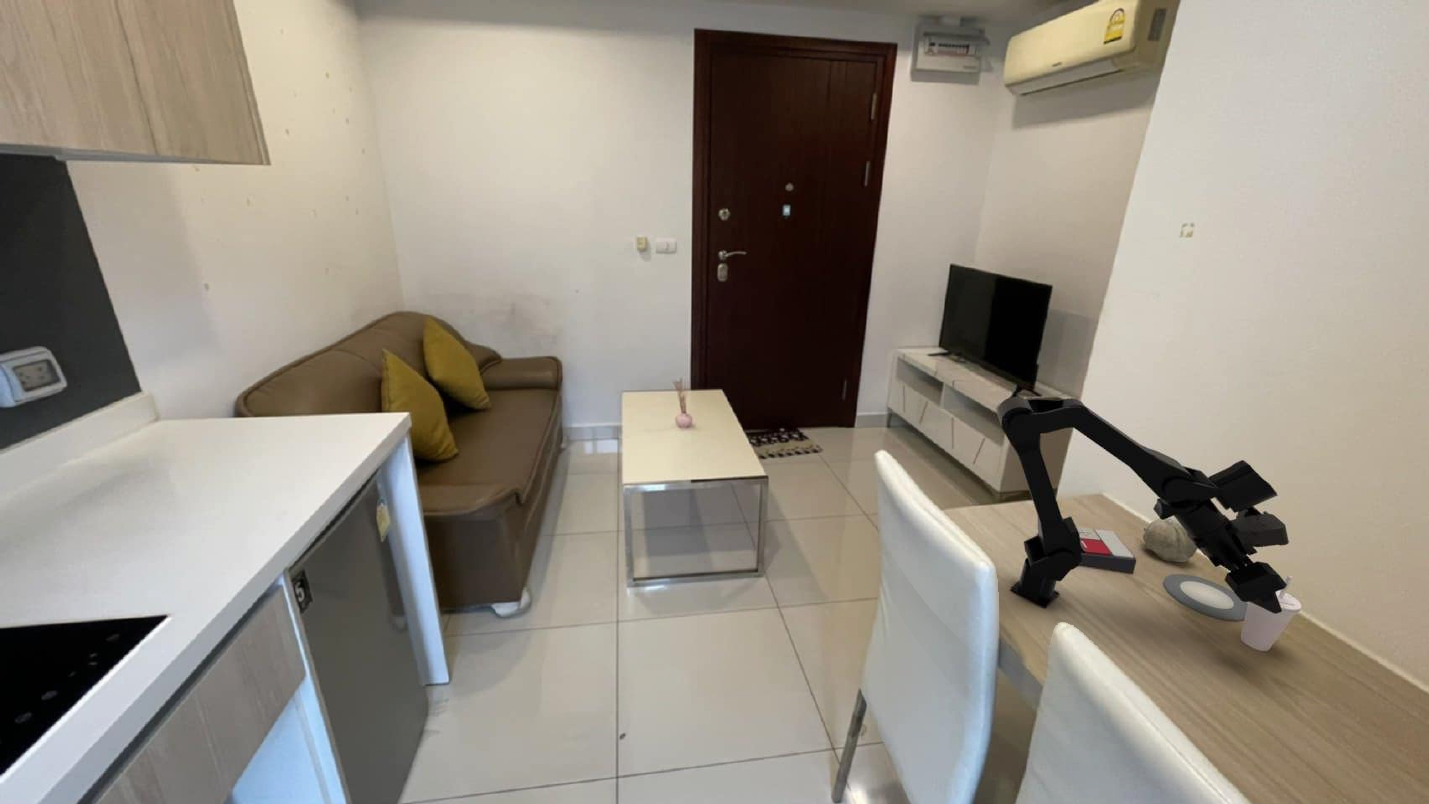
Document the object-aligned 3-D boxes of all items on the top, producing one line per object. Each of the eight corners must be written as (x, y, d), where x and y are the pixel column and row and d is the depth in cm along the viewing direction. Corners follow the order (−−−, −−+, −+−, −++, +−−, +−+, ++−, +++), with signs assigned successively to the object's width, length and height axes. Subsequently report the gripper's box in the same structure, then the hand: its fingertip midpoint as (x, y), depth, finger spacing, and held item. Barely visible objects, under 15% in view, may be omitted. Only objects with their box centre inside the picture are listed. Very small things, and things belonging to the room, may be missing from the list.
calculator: (1039, 520, 127) (1115, 528, 124) (1036, 537, 128) (1110, 545, 125) (1056, 548, 117) (1138, 557, 114) (1052, 565, 118) (1133, 575, 115)
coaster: (1241, 631, 100) (1243, 628, 100) (1154, 592, 110) (1155, 589, 109) (1256, 602, 108) (1258, 599, 108) (1173, 568, 118) (1174, 565, 117)
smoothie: (1269, 662, 94) (1303, 591, 89) (1223, 636, 99) (1252, 568, 94) (1286, 649, 96) (1319, 580, 92) (1240, 625, 102) (1269, 559, 97)
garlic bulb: (1185, 574, 120) (1220, 545, 114) (1149, 567, 119) (1182, 538, 113) (1160, 539, 127) (1191, 509, 121) (1125, 532, 127) (1155, 502, 121)
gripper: (1293, 529, 83) (1359, 610, 83) (1230, 475, 99) (1285, 543, 100) (1210, 563, 88) (1272, 639, 88) (1164, 506, 104) (1216, 571, 105)
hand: (1262, 594), depth 95 cm, fingers open, 9 cm apart
